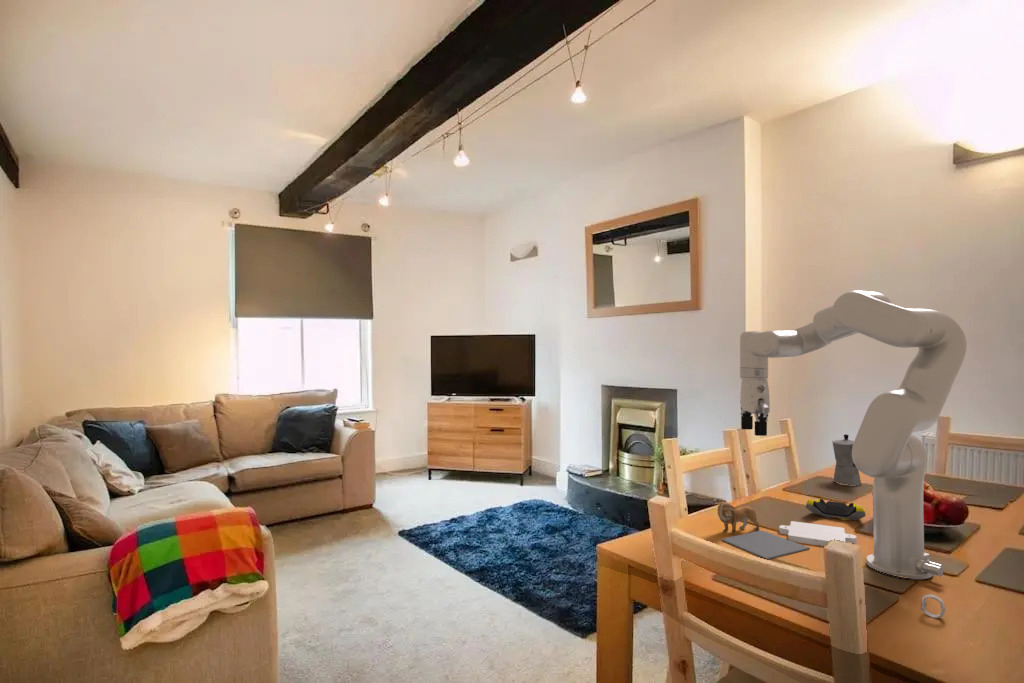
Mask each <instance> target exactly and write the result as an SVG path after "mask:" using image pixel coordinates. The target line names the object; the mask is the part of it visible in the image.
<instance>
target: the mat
mask: <svg viewBox="0 0 1024 683" xmlns="http://www.w3.org/2000/svg"><path fill="white" fill-rule="evenodd" d="M720 539H721V540H722V541H721V540H720V541H721V542H724V541H725V542H724V543H726V544H728V543H729V544H728V545H731V546H733V545H734V547H736V548H738V547H739V548H738V549H739V550H740V549H741V550H743V551H745V552H748V553H750V554H753V555H754V556H757V557H758V558H761V557H763V558H762V559H764V558H767V559H768V560H771V559H775V558H780V557H783V556H788V555H792V554H797V553H799V552H800V553H801V552H804V551H808V550H810V547H809V546H806V545H803V544H802V543H799V542H793V541H790V540H788V538H787V539H786V538H785V537H782V536H779V535H776V534H773V533H770V532H769V531H765V530H762V529H761V530H759V531H756V530H755V531H752V532H747V533H743V534H736V535H733V536H728V537H724V538H720Z"/></svg>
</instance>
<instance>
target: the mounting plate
mask: <svg viewBox="0 0 1024 683" xmlns="http://www.w3.org/2000/svg"><path fill="white" fill-rule="evenodd" d="M778 529H779V534H781V535H787V540H790V541H793V542H795V543H798V544H808V545H812V546H813V545H814V546H819V545H821V546H820V547H826V546H825V545H826V544H827V543H828V542H829V541H830V540H834V539H835V540H840V541H844V542H851V543H854V544H853V545H856V544H857V535H855V534H851V533H846V530H845V527H842V526H841V527H840V526H833V525H832V526H831V525H824V524H818V523H809V522H803V521H802V522H801V521H794V520H791V521H790V524H789V525H784V524H781V525H779V528H778Z"/></svg>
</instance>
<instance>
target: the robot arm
mask: <svg viewBox="0 0 1024 683" xmlns="http://www.w3.org/2000/svg"><path fill="white" fill-rule="evenodd" d="M812 320H813V322H810V323H808V324H805V325H804V326H800V327H797V328H795V329H791V330H786V329H785V330H767V331H756V330H755V331H754V330H753V331H743V332H741V333H740V336H739V378H740V379H741V384H740V400H739V401H740V411H741V412H740V418H741V421H740V422H741V423H740V428H741V430H753V429H754V435H755V436H757V437H760V436H761V437H764V436H765V437H767V435H768V434H767V433H768V417H769V414H770V411H771V405H770V401H771V399H770V388H769V382H768V380H769V359H770V358H772V359H773V358H776V359H778V358H795V357H799V356H802V355H805V354H808V353H811V352H814V351H817V350H819V349H822V348H825V347H826V346H828V345H830V344H832V343H833V342H836V341H839V340H842V339H844V338H847V337H851V336H853V335H856V334H861V335H864V336H866V337H869V338H871V339H872V340H876V341H878V342H881V343H884V344H886V345H889V346H892V347H895V348H905V349H906V348H907V349H908V348H910V349H911V348H918V352H917V354H916V355H915V357H914V358H913V359H912V361H911V362H910V363H909V364H908V367H907V369H906V372H905V374H904V377H903V379H902V381H901V383H900V385H899V387H898V388H897V389H896V390H895V389H894V390H888V391H886V392H883V393H881V394H878V395H877V396H876V397H875V398H874V399H873V400H872V401H871V402H870V404H869V405H868V407H867V409H866V412H865V415H864V416H863V419H862V421H861V424H860V426H859V429H858V431H857V433H856V436H855V438H854V440H853V441H854V444H853V447H852V459H853V462H854V464H855V466H856V467H857V469H858V470H859V473H862V474H863V475H865V476H866V477H870V478H873V483H872V521H873V523H872V524H873V528H872V529H873V553H872V554H868V555H867V556H866V557H865V563H866V565H867V566H868V567H870V568H871V569H872V568H873V569H872V570H874V569H875V570H874V571H876V570H877V571H876V572H878V571H880V572H879V573H881V572H883V573H882V574H884V573H887V574H891V575H896V576H903V577H908V578H913V579H912V580H927V579H930V578H932V577H934V576H937V577H942V576H943V575H944V566H943V564H940V563H937V562H933V561H932V560H931V558H930V557H931V556H930V553H927V552H925V529H924V528H925V525H924V522H925V521H924V481H925V474H926V469H927V451H926V450H927V449H926V447H925V445H924V444H923V442H922V441H921V440H920V438H919V437H917V436H916V435H914V434H913V433H917V432H922V431H925V430H928V429H930V428H932V427H933V426H934V425H935V424H936V423H937V422H938V420H939V417H940V415H941V413H942V410H943V407H944V405H945V403H946V401H947V399H948V397H949V395H950V393H951V390H952V387H953V385H954V383H955V380H956V378H957V376H958V374H959V372H960V370H961V367H962V365H963V363H964V360H965V357H966V352H967V339H966V334H965V333H964V330H963V329H962V328H961V326H960V324H959V323H958V322H957V321H956V320H955V319H954V318H952V317H951V316H949V315H948V314H946V313H944V312H943V311H938V310H937V309H936V310H935V309H929V308H905V307H901V306H899V305H895V304H893V302H892V301H891V299H890V298H889V297H888V296H886V295H885V294H883V293H881V292H878V291H869V290H868V291H867V290H851V291H850V290H849V291H846V292H844V293H843V294H841V295H840V296H838V297H837V298H836V299H835V301H834V303H833V304H832V305H831V306H828V307H826V308H823V309H821V310H818V311H817V312H816V313H815V314H814V316H813V319H812ZM753 415H754V417H755V418H753ZM753 419H755V421H753ZM753 422H754V424H753ZM887 574H886V575H887Z"/></svg>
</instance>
